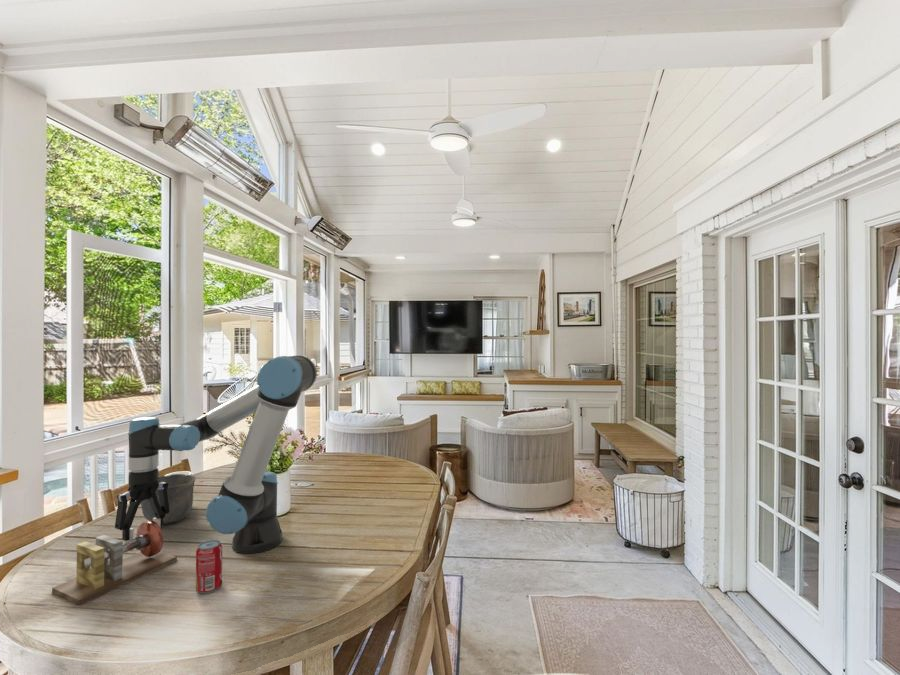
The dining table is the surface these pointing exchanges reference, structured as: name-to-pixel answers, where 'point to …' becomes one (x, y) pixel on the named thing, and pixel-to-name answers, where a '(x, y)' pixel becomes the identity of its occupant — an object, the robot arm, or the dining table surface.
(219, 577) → the soda can
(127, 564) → the board
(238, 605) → the dining table surface
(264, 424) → the robot arm
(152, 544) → the red knob rod
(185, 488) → the grey plant pot
